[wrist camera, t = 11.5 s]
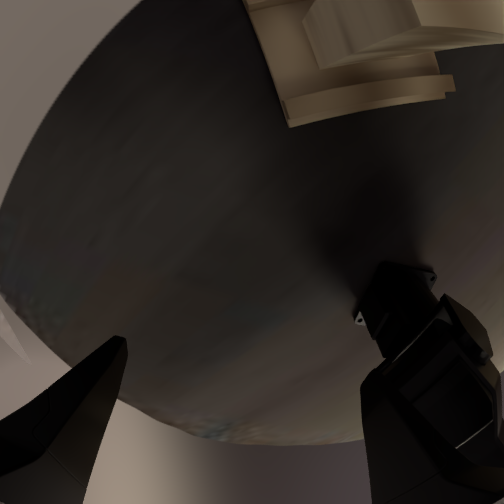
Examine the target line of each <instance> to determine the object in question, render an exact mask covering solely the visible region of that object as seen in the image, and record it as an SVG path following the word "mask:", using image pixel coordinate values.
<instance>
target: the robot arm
mask: <svg viewBox="0 0 504 504" xmlns="http://www.w3.org/2000/svg"><path fill="white" fill-rule="evenodd" d="M385 266H386V268H385V269H383V268H384V267H385ZM431 277H432V278H431ZM436 279H437V275H436V274H435V273H434V272H432V271H428V270H423V269H419V268H414V267H410V266H405V265H401V264H396V263H392V262H387V261H384V262H381V263H380V265H379V266H378V269H377V271H376V273H375V275H374V277H373V280H372V282H371V284H370V285H369V286H368V288H367V290H366V293H365V295H364V297H363V299H362V301H361V303H360V305H359V309H358V311H357V313H356V315H355V317H354V321H355V323H356V324H358V325H366V326H367V328H368V331H369V333H370V335H371V338H372V339H373V340H376V342H377V344H378V347H379V349H380V351H381V354H382V356H383V358H386V359H385V360H384V361H383V362H382V363H381V364H380V365H379V366H378V367H377V368H374V369H373V370H372V371H371V372H370V373H369V374H368V376H367V377H366V378H365V380H364V381H363V382H362V384H361V387H360V395H361V413H362V425H363V432H364V439H365V446H366V453H367V460H368V469H369V477H370V487H371V498H372V504H504V420H503V418H502V390H501V376H500V373H499V371H498V370H497V368H496V367H495V366H494V364H493V363H492V361H491V360H490V358H491V357H492V356H493V351H492V348H491V344H490V341H489V337H488V334H487V331H486V329H485V328H484V326H483V325H482V324H481V323H480V322H479V321H478V319H477V318H476V317H475V316H474V315H473V313H472V312H470V311H469V310H468V309H466V308H465V307H464V306H462V305H461V304H459V303H458V302H456V301H455V300H454V299H452V298H451V297H449V296H448V295H446V294H445V293H444V294H443V296H442V297H441V298H440V301H438V300H437V299H436V297H435V296H434V295H433V293H432V292H431V289H432V287H433V285H434V283H435V281H436ZM360 318H361V319H360ZM358 319H359V320H358ZM127 358H128V350H127V342H126V339H125V338H124V337H120V336H116V335H115V336H113V337H112V338H110V339H109V340H108V341H107V342H105V343H104V344H103V345H101V346H100V347H99V348H98V349H96V350H95V351H94V352H92V353H91V354H90V355H89V356H87V357H86V358H85V359H84V360H82V361H81V362H80V363H78V364H77V365H76V366H75V367H73V368H72V369H71V370H70V371H68V372H67V373H66V374H65V375H63V376H62V377H61V378H60V379H58V380H57V381H56V382H55V383H53V384H52V385H51V386H50V387H49V388H48V389H46V390H44V391H43V392H42V393H41V394H39V395H38V396H37V397H35V398H34V399H33V400H32V401H30V402H29V403H27V404H26V405H24V406H23V407H21V408H20V409H18V410H16V411H15V412H13V413H12V414H10V415H8V416H7V417H5V418H3V419H2V420H0V504H83V500H84V496H85V493H86V488H87V486H88V482H89V479H90V476H91V472H92V469H93V466H94V463H95V460H96V457H97V454H98V450H99V447H100V444H101V441H102V439H103V436H104V432H105V430H106V427H107V424H108V421H109V419H110V416H111V413H112V410H113V407H114V405H115V402H116V400H117V397H118V393H119V389H120V385H121V381H122V377H123V373H124V369H125V366H126V362H127Z"/></svg>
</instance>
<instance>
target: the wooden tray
mask: <svg viewBox="0 0 504 504" xmlns="http://www.w3.org/2000/svg"><path fill="white" fill-rule="evenodd" d="M242 1H243V3H244V6H245V8H246V11H247V13H248V15H249V18H250V20H251V23H252V25H253V28H254V30H255V33H256V36H257V38H258V41H259V43H260V46H261V49H262V51H263V54H264V57H265V59H266V62H267V65H268V68H269V71H270V73H271V76H272V79H273V82H274V85H275V88H276V91H277V94H278V97H279V100H280V103H281V106H282V109H283V112H284V115H285V118H286V121H287V124H288V127H289V128H291V127H295V126H299V125H303V124H307V123H311V122H315V121H319V120H323V119H327V118H331V117H336V116H340V115H345V114H350V113H355V112H359V111H365V110H370V109H375V108H381V107H387V106H393V105H399V104H406V103H413V102H420V101H428V100H437V99H446V98H445V93H444V92H452V91H456V90H455V85H454V81H453V76H452V75H440V72H439V68H438V64H437V61H436V57H435V54H434V52H429V53H423V54H418V55H414V56H409V57H404V58H398V59H387V60H378V61H370V62H362V63H355V64H349V65H343V66H337V67H332V68H326V69H321V70H320V69H319V66H318V64H317V61H316V58H315V55H314V52H313V49H312V47H311V44H310V41H309V39H308V36H307V33H306V31H305V28H304V26H303V23H302V20H303V19H304V17H305V16H306V14H307V12H308V11H309V9H310V8H311V6H312V5H313V3H314V1H315V0H242Z"/></svg>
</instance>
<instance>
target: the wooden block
mask: <svg viewBox="0 0 504 504" xmlns="http://www.w3.org/2000/svg"><path fill="white" fill-rule="evenodd" d="M302 23H303V26H304V28H305V31H306V33H307V36H308V39H309V41H310V44H311V47H312V49H313V52H314V55H315V58H316V61H317V64H318V66H319V69H320V70H321V69H326V68H332V67H337V66H343V65H349V64H355V63H362V62H370V61H378V60H387V59H398V58H404V57H409V56H414V55H418V54H423V53H429V52H434V51H440V50H446V49H453V48H460V47H468V46H477V45H487V44H502V43H504V0H315V1H314V3H313V5H312V6H311V8H310V9H309V11H308V12H307V14H306V16H305V17H304V19H303V20H302Z"/></svg>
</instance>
